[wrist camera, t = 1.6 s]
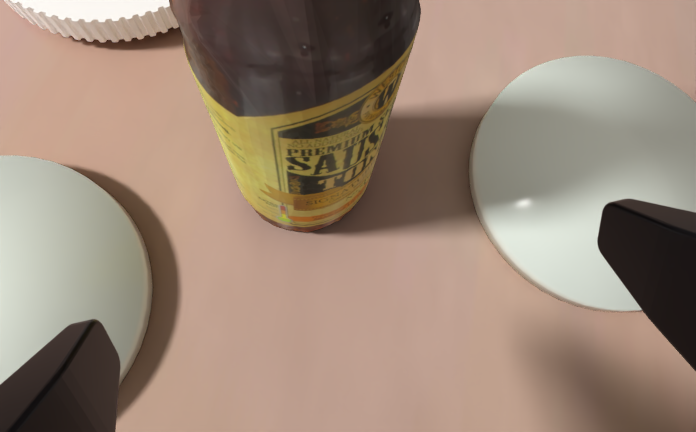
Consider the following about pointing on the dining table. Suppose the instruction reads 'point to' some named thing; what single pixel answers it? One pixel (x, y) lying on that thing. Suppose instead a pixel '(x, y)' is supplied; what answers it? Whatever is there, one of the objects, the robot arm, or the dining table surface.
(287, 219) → the sauce bottle
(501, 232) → the dish right
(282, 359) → the dining table surface
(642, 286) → the robot arm
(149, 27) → the plastic lid
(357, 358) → the dining table surface
